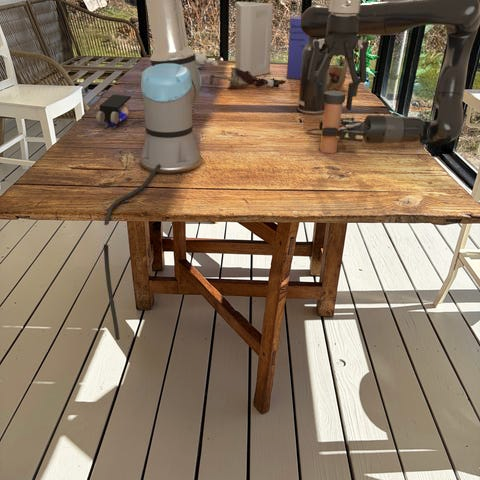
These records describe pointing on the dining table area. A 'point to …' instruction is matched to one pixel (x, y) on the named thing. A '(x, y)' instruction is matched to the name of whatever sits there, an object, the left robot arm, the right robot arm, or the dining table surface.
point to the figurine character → (113, 110)
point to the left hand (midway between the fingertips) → (333, 108)
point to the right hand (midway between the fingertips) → (321, 128)
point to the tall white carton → (253, 37)
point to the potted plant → (337, 76)
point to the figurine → (246, 79)
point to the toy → (203, 60)
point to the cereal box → (295, 48)
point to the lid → (334, 97)
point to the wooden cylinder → (330, 126)
